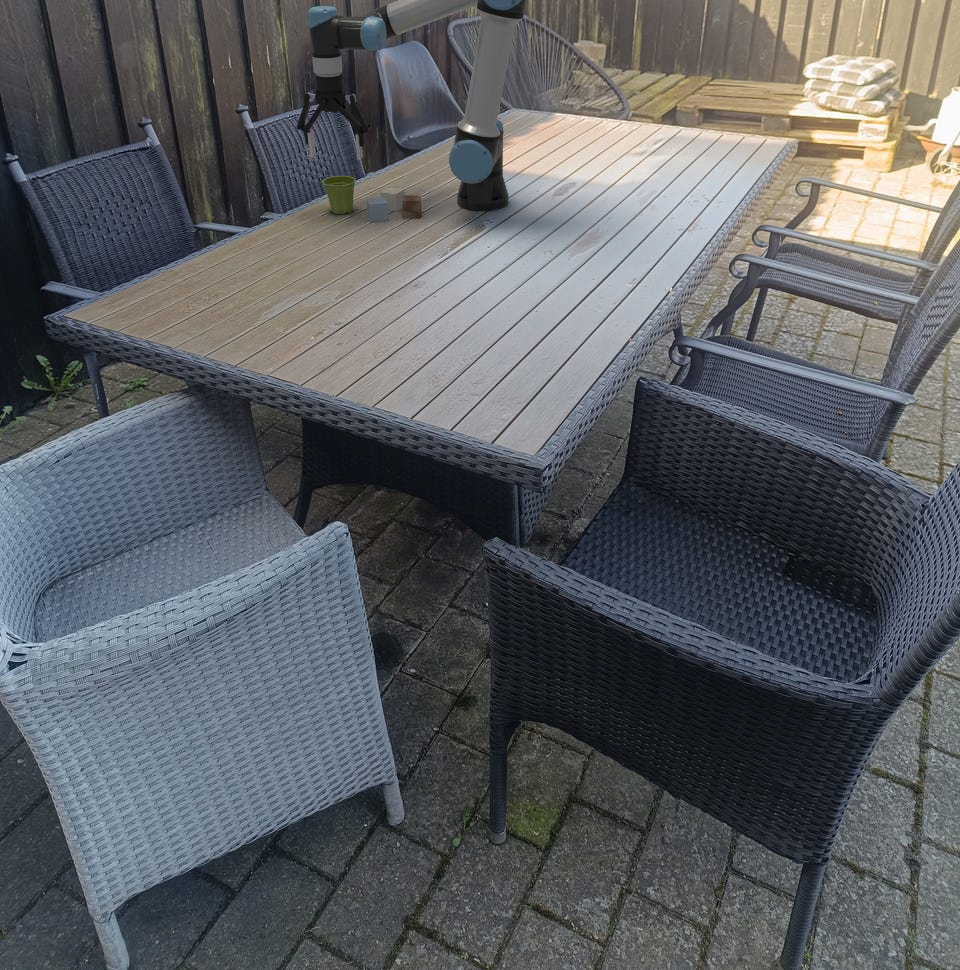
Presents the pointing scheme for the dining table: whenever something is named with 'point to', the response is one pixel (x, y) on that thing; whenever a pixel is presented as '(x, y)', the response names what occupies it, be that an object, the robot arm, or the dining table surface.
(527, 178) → the dining table surface
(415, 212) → the walnut block
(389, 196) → the cream block
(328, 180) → the plant pot
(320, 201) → the dining table surface
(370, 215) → the slate blue block
